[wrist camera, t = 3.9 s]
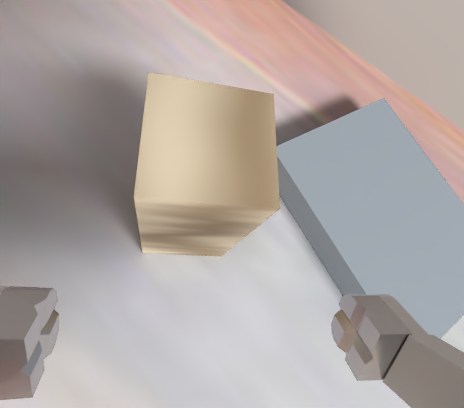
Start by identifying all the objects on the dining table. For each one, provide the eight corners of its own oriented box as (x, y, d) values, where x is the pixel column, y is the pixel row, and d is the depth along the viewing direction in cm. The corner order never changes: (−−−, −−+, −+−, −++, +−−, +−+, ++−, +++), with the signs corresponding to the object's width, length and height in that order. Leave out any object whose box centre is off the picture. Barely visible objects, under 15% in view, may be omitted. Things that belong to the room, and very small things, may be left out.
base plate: (258, 167, 23) (272, 148, 21) (361, 118, 28) (384, 97, 25) (378, 359, 21) (413, 366, 18) (471, 271, 25) (510, 266, 22)
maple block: (142, 252, 19) (133, 195, 10) (149, 179, 20) (148, 71, 11) (221, 256, 20) (280, 208, 11) (221, 186, 22) (273, 94, 12)
